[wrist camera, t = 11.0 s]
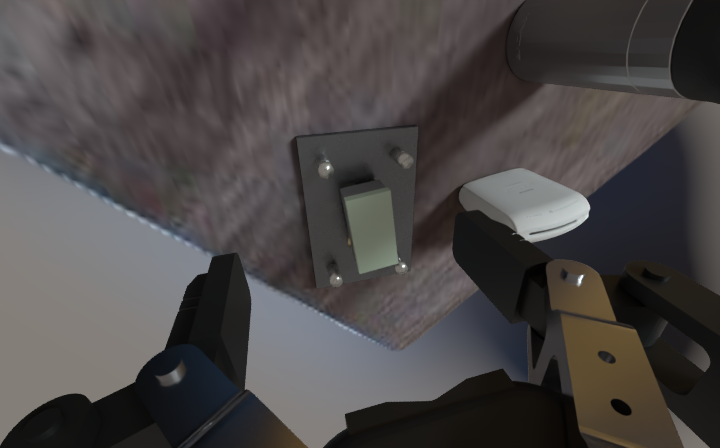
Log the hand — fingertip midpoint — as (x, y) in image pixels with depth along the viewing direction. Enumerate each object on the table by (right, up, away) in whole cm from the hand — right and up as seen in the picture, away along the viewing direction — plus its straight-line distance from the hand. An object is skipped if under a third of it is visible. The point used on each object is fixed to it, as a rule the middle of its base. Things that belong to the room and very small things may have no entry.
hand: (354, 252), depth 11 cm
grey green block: (+1, +2, +28) cm, 28 cm away
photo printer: (+19, +6, +33) cm, 38 cm away
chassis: (0, +3, +29) cm, 29 cm away
